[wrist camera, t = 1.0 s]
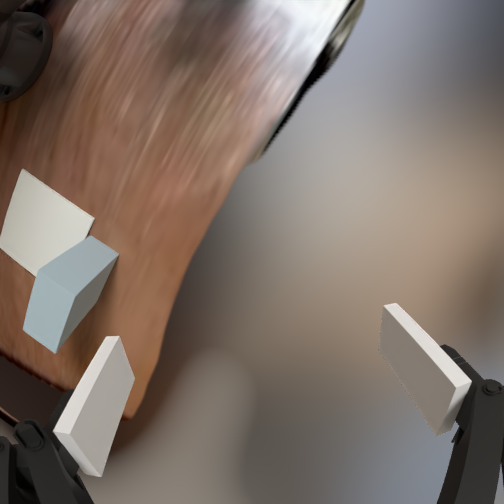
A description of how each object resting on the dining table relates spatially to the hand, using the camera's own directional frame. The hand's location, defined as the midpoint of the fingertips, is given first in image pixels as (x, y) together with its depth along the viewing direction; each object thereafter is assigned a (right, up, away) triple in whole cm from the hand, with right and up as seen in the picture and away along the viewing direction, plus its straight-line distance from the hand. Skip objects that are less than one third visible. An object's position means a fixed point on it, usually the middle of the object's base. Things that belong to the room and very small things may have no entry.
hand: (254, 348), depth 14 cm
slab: (-23, +2, +26) cm, 35 cm away
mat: (-32, +7, +24) cm, 41 cm away
